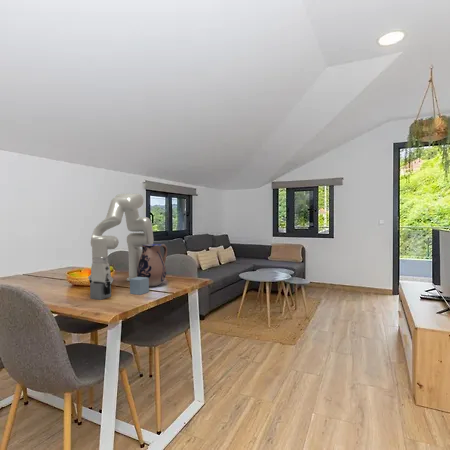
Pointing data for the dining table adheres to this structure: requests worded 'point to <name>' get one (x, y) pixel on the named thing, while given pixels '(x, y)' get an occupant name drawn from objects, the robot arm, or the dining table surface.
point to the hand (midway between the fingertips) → (100, 293)
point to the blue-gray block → (139, 285)
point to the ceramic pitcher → (152, 264)
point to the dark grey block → (98, 291)
